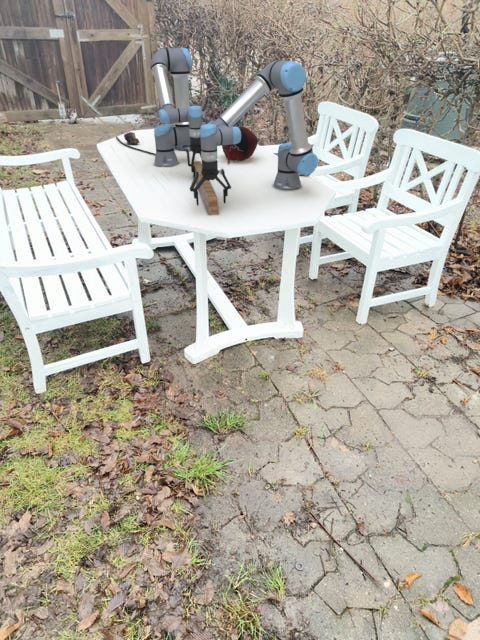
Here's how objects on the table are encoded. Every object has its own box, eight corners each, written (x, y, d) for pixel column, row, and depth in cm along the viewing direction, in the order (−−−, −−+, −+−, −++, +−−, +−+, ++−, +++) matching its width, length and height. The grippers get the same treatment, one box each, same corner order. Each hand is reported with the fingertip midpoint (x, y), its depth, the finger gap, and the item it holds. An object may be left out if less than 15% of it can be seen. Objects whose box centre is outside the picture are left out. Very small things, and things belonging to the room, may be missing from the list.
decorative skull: (218, 132, 305) (218, 129, 282) (252, 124, 304) (255, 121, 281) (225, 164, 312) (225, 164, 288) (258, 157, 311) (261, 156, 288)
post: (193, 175, 273) (192, 161, 268) (201, 175, 273) (200, 161, 269) (209, 214, 220) (208, 197, 215) (218, 214, 221) (217, 197, 216)
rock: (136, 143, 345) (123, 144, 341) (134, 131, 342) (121, 132, 338) (140, 143, 336) (127, 145, 332) (139, 131, 332) (125, 132, 328)
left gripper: (181, 138, 250) (184, 180, 263) (212, 137, 253) (214, 178, 266) (180, 135, 256) (183, 176, 269) (210, 134, 259) (212, 174, 272)
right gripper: (183, 163, 207) (186, 208, 219) (236, 160, 211) (237, 204, 223) (182, 159, 213) (185, 202, 225) (233, 156, 217) (234, 199, 229)
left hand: (198, 177), depth 268 cm, fingers closed on post, 4 cm apart
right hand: (211, 203), depth 224 cm, fingers open, 13 cm apart
